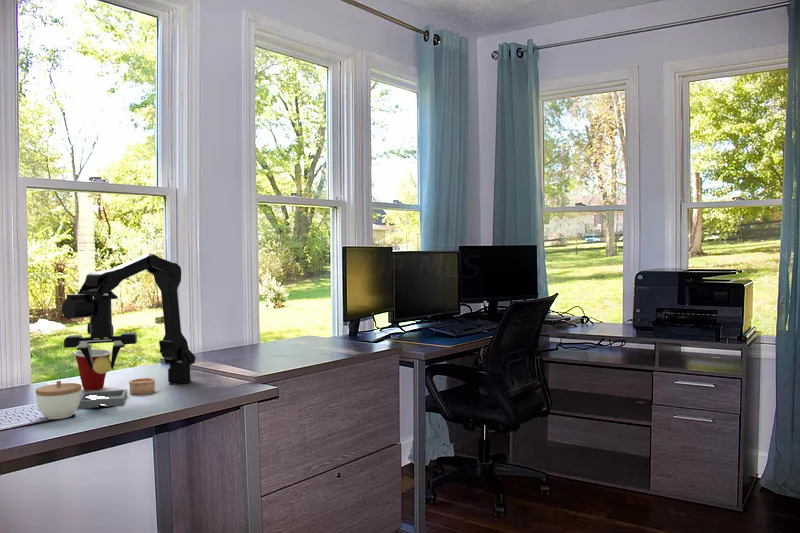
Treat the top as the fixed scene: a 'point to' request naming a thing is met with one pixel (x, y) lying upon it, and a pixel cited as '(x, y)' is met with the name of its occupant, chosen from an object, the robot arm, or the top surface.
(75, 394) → the lidded jar
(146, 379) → the bowl
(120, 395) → the tray
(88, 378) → the plastic cup
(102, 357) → the ball
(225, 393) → the top surface
